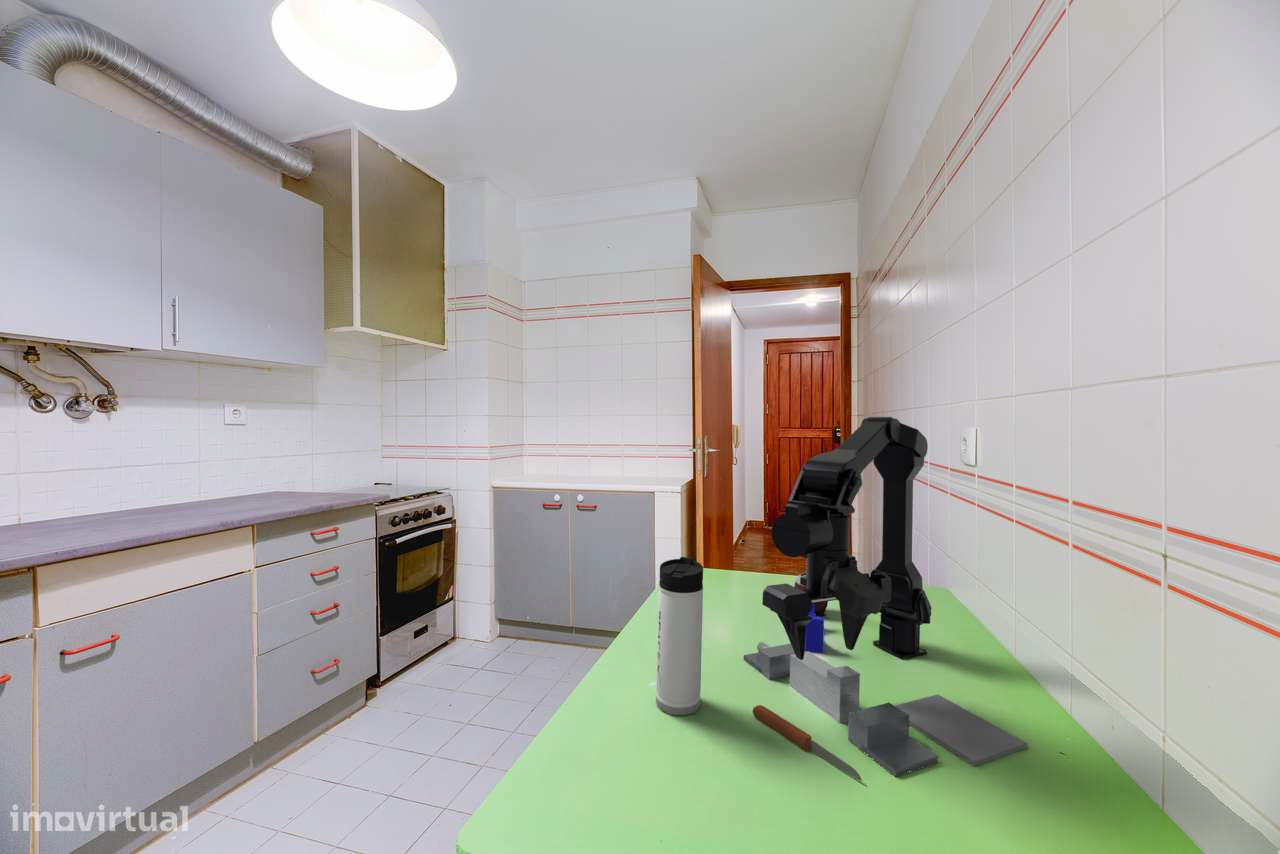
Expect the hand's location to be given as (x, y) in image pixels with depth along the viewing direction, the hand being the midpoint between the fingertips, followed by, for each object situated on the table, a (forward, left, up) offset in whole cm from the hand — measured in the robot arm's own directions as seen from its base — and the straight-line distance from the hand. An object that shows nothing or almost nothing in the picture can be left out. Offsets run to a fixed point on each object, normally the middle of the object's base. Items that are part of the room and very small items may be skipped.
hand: (825, 653), depth 71 cm
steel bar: (0, 0, -7) cm, 7 cm away
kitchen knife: (+10, +7, -8) cm, 14 cm away
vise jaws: (0, 0, -7) cm, 7 cm away
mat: (-12, +11, -7) cm, 18 cm away
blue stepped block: (-13, -19, -7) cm, 24 cm away
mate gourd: (-23, -28, -7) cm, 37 cm away
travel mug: (+20, -7, -7) cm, 22 cm away
